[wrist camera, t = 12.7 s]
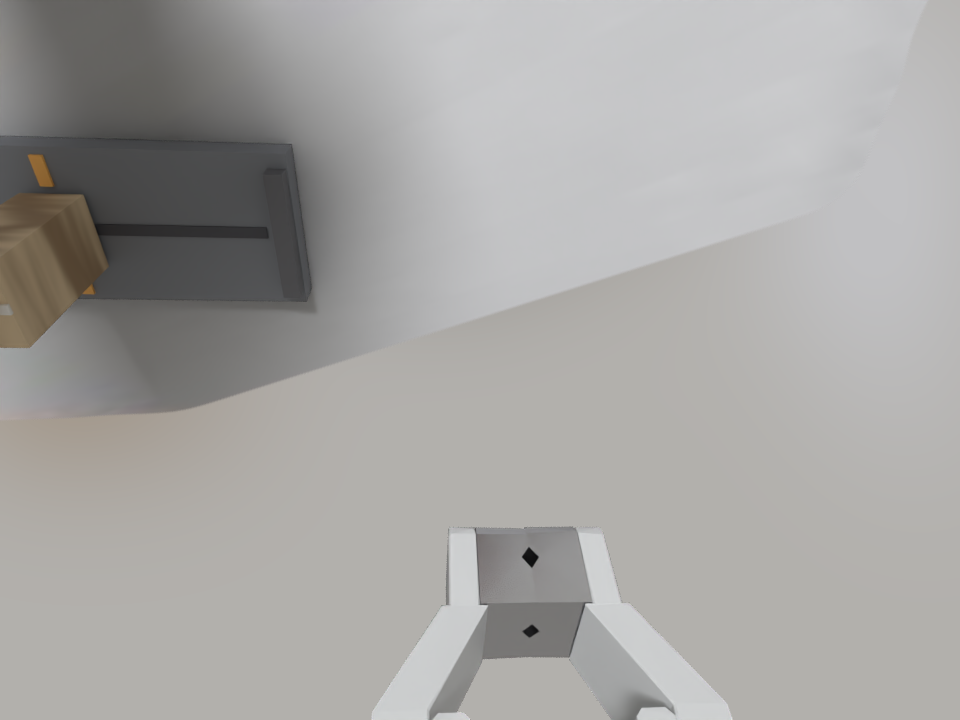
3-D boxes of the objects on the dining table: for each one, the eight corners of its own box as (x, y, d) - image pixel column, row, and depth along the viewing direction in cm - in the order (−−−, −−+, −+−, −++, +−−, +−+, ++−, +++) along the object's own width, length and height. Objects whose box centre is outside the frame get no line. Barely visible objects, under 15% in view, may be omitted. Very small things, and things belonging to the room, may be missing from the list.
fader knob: (84, 194, 39) (-13, 267, 31) (109, 266, 42) (28, 349, 34) (18, 192, 39) (-97, 265, 30) (48, 265, 42) (-48, 349, 34)
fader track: (291, 144, 40) (281, 159, 37) (311, 288, 46) (303, 309, 44) (-105, 132, 38) (-145, 147, 36) (-27, 283, 45) (-56, 305, 42)
